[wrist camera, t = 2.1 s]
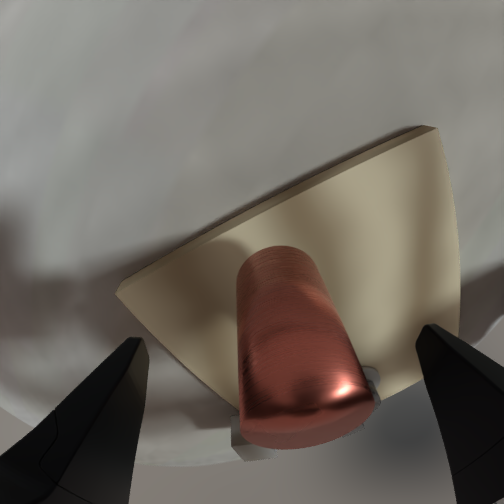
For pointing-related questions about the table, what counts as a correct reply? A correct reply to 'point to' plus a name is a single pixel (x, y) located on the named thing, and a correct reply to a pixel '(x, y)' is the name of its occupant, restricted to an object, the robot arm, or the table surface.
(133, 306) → the board
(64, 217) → the table surface
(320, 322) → the lever
